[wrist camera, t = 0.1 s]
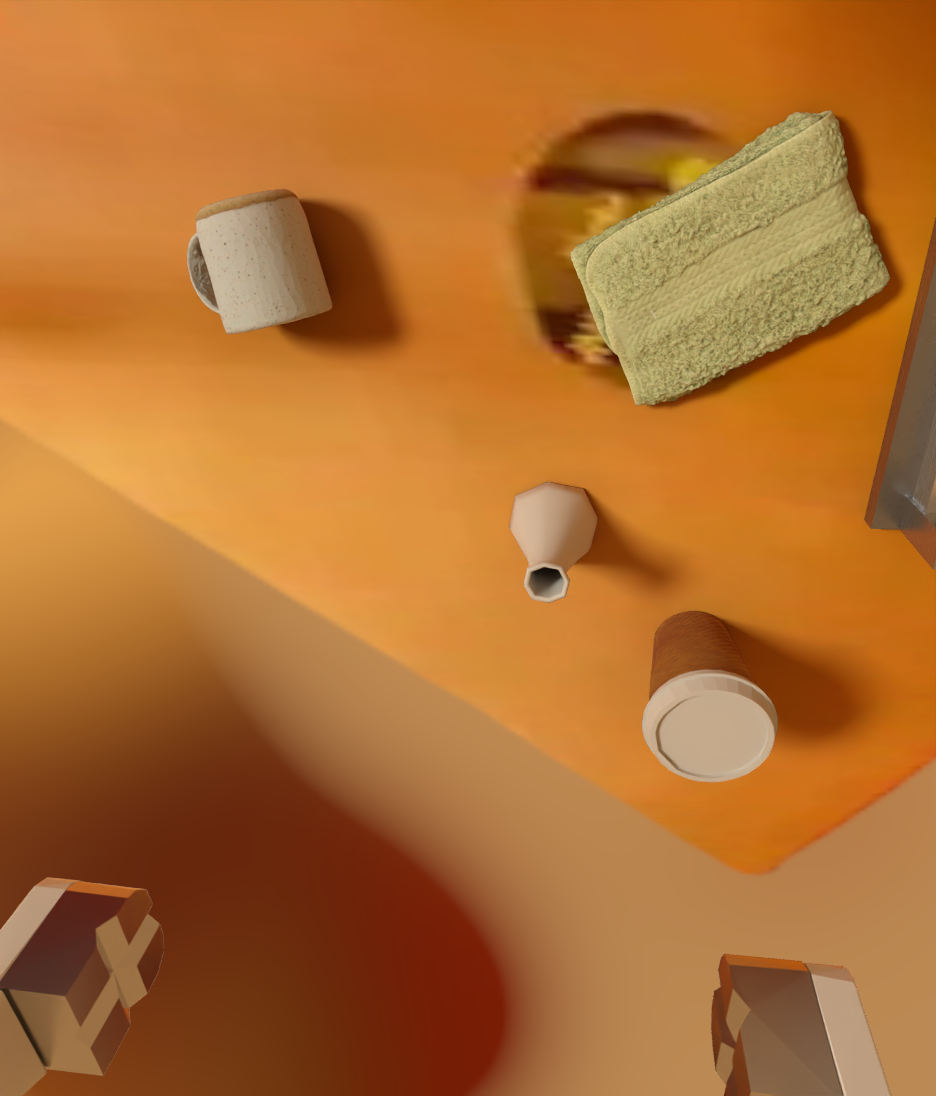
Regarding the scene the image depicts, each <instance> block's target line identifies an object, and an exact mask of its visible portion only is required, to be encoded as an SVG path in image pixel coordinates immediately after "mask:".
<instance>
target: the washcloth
mask: <svg viewBox="0 0 936 1096" xmlns="http://www.w3.org/2000/svg"><path fill="white" fill-rule="evenodd" d="M844 154H845V151H844V138H843V136H842V135H841V131H840V126H839V121H838V120H837V119H836V117H835V116H834V114H833V112H832V111H830V110H829V111H825V112H822V113H818V114H817V113H813V114H810V113H800V112H796V113H793V114H791V115H789V116H788V118H787V119H786V120H785V121H784V122H780V123H779V124H778V125H777V126H774V127H772V128H770V127H768V128H767V130H766V131H765V132H764V133H763V134H762V135H760V136H758V137H757V139H756V140H755V141H752V142H750V144H746V146H745V147H744V148H743V149H742V150H740V151H739V152H738V153H737V154H736V155H734V156H733V157H731V158H729V159H728V160H725V161H724V162H723V163H722V164H719V165H717V166H716V167H714V168H712V169H710V170H709V172H708V174H702V175H701V176H700V177H699V178H698V179H697V181H695V182H693V183H691V184H689V185H687V186H686V187H684V188H683V189H681V190H679V191H677V192H676V193H674V194H673V195H672V196H670V195H668V196H666V198H665V199H662V200H661V202H657V203H656V206H655V207H654V206H651V208H650V209H645V210H644V211H642V212H641V211H638V213H637V214H634V215H633V216H632V217H630V218H629V219H624V220H621V221H620V222H619V223H617V224H616V225H615V226H612V227H609V228H608V229H606V230H605V231H604V232H603V234H601V235H596V236H594V237H592V238H591V239H588V240H587V241H585V242H584V243H582V244H579V245H578V246H577V247H576V248H575V249H574V250H573V251H572V252H571V253H570V255H571V260H572V262H573V264H574V267H575V270H576V272H577V274H578V277H579V279H580V281H581V283H582V285H583V288H584V290H585V294H586V297H587V300H588V303H589V306H590V310H591V311H592V314H593V317H594V320H595V322H596V325H597V328H598V330H599V333H600V334H601V335H602V337H603V339H604V341H605V342H606V343H607V345H608V347H609V348H610V349H611V350H612V351H613V352H614V353H615V354H617V355H618V357H619V359H620V362H621V365H622V368H623V370H624V372H625V375H626V377H627V379H628V382H629V385H630V388H631V391H632V394H633V398H634V401H635V404H636V405H638V406H639V405H643V404H646V405H647V406H648V405H655V404H658V403H659V402H666V401H676V400H677V399H678V398H679V397H681V396H683V395H686V394H691V391H693V390H694V389H696V388H699V387H701V386H704V385H705V384H707V382H711V381H712V379H713V378H717V377H719V376H721V375H725V374H726V372H728V371H729V370H730V369H732V368H734V369H735V368H737V367H740V366H741V365H742V364H745V365H746V363H748V362H751V361H752V360H754V359H755V358H757V357H762V356H763V354H765V353H766V352H773V351H775V350H777V349H779V348H781V347H782V346H783V345H786V344H787V343H788V342H792V340H793V339H794V338H798V337H799V336H802V335H807V334H810V333H812V332H814V331H816V330H817V329H818V328H819V326H822V327H825V326H826V325H828V324H829V323H830V321H832V320H833V319H834V318H836V317H837V318H838V317H840V316H841V315H842V314H844V313H846V312H848V311H850V310H851V308H852V307H854V306H858V305H860V304H861V303H864V302H865V300H866V299H868V298H870V297H872V296H873V295H875V294H877V293H879V292H880V291H882V289H883V288H884V286H887V285H888V284H887V282H888V281H889V280H890V275H889V274H888V270H887V268H886V266H885V263H884V262H883V260H882V255H881V253H880V251H879V247H878V245H877V244H874V240H873V239H872V238H873V237H872V235H871V233H870V232H871V228H870V225H869V222H868V219H866V216H864V214H861V213H860V212H859V210H858V209H857V204H856V201H855V199H854V195H853V193H852V190H851V188H850V186H849V183H848V180H847V173H848V164H847V157H846V156H845V155H844Z"/></svg>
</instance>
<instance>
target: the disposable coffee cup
mask: <svg viewBox="0 0 936 1096" xmlns="http://www.w3.org/2000/svg"><path fill="white" fill-rule="evenodd" d="M642 729H643V735H644V738H645V741H646V743H647V744H648V746H649V748H650V749H651V750H652V752H653V753H654V754H655V756H656V757H657V758H658V760H659V761H660V762H661V763H662V764H663V765H664V766H665V767H666V768H668V769H669V770H670V771H672V772H674V773H675V774H677V775H680V776H682V777H684V778H688V779H691V780H695V781H703V782H720V781H727V780H731V779H736V778H738V777H741V776H743V775H746V774H748V773H749V772H751V771H753V770H754V769H756V768H757V767H758V766H759V765H761V764H762V763H763V761H764V760H765V759H766V758H767V757H768V755H769V753H770V752H771V749H772V747H773V744H774V739H775V737H776V734H777V729H778V717H777V712H776V710H775V707H774V705H773V703H772V701H771V700H770V698H769V697H768V696H767V694H766V693H765V692H764V691H763V690H761V689H760V688H759V687H758V686H757V684H756V682H755V681H754V679H753V677H752V675H751V673H750V671H749V669H748V667H747V666H746V664H745V662H744V660H743V658H742V656H741V654H740V653H739V651H738V649H737V647H736V645H735V643H734V641H733V639H732V638H731V636H730V634H729V632H728V630H727V628H726V626H725V625H724V624H723V623H722V622H721V621H720V620H719V619H718V618H716V617H714V616H712V615H710V614H707V613H704V612H698V611H688V612H682V613H679V614H676V615H674V616H672V617H670V618H668V619H667V620H666V621H664V622H663V623H662V624H661V626H660V627H659V628H658V630H657V631H656V634H655V638H654V647H653V659H652V671H651V681H650V692H649V702H648V704H647V706H646V708H645V710H644V715H643V720H642Z"/></svg>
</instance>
